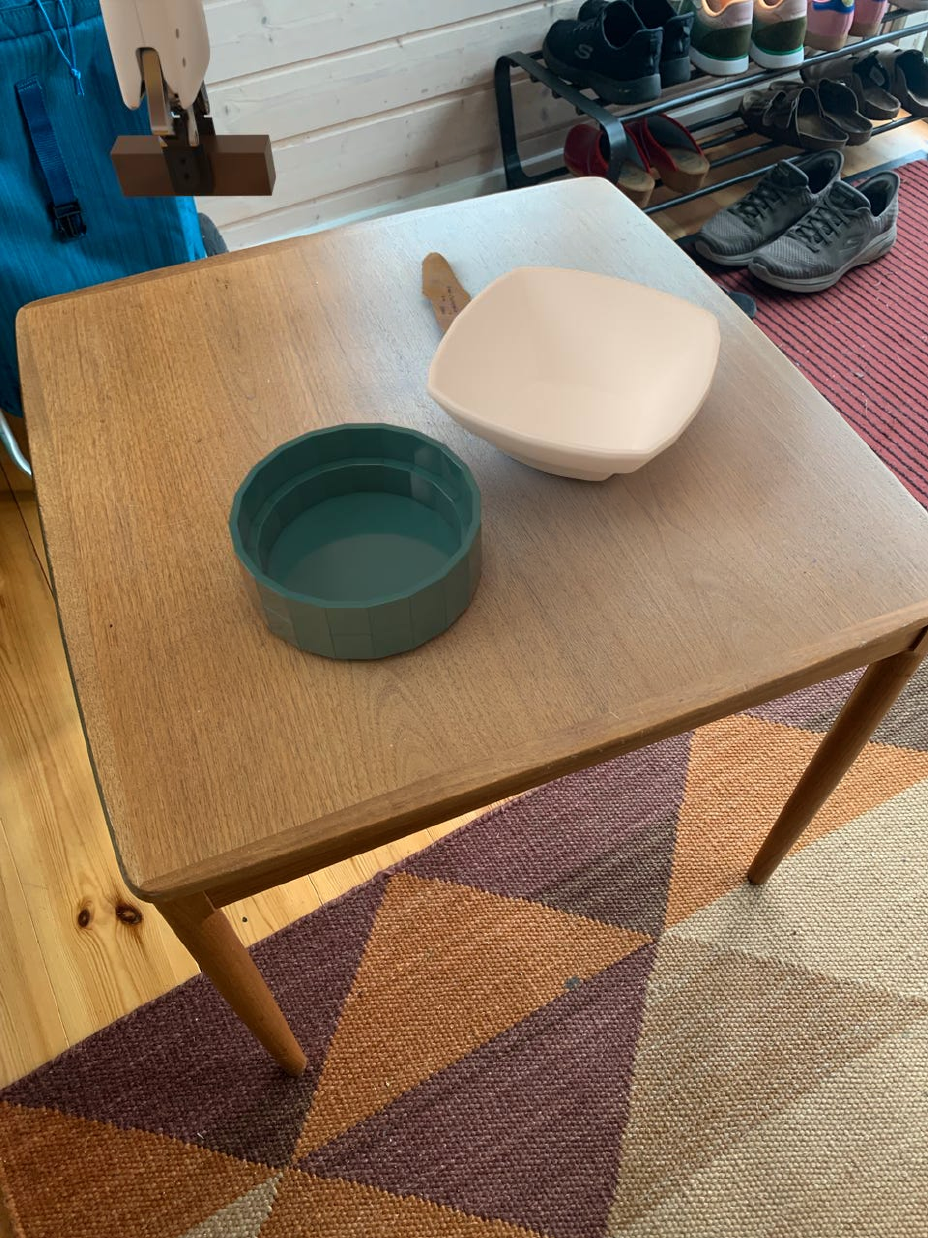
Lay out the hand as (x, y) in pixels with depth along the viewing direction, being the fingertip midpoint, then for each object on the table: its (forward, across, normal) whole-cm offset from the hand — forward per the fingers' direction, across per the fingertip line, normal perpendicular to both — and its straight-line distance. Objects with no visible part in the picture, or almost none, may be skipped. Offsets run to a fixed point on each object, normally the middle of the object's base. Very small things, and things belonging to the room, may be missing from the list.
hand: (198, 178), depth 75 cm
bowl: (+14, +15, +30) cm, 37 cm away
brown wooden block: (+1, 0, 0) cm, 1 cm away
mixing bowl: (+15, +29, +14) cm, 35 cm away
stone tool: (+14, -3, +20) cm, 25 cm away
